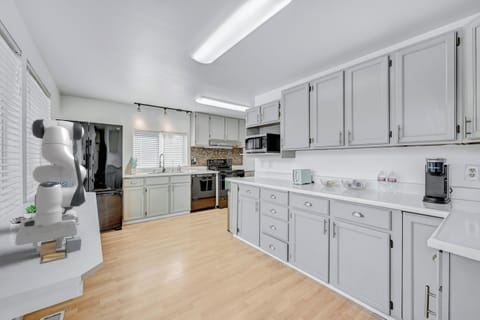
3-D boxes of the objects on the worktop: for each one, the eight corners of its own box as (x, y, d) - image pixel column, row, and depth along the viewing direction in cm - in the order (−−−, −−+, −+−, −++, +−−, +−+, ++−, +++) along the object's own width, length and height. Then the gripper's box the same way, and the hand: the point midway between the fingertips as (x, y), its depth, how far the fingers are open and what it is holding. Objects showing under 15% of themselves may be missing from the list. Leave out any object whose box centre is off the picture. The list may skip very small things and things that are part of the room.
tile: (41, 257, 89) (41, 255, 89) (66, 251, 95) (66, 250, 95) (39, 264, 83) (39, 263, 83) (67, 258, 88) (67, 256, 88)
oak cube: (41, 253, 93) (41, 242, 93) (56, 250, 96) (56, 239, 96) (40, 257, 89) (40, 245, 89) (55, 253, 92) (56, 242, 92)
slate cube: (65, 249, 96) (65, 238, 97) (78, 246, 100) (79, 236, 100) (66, 252, 93) (67, 241, 93) (80, 250, 96) (81, 239, 97)
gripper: (78, 213, 102) (77, 241, 102) (17, 221, 89) (16, 253, 89) (78, 216, 97) (78, 245, 97) (14, 224, 84) (14, 259, 84)
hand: (48, 249), depth 93 cm, fingers closed on oak cube, 5 cm apart
